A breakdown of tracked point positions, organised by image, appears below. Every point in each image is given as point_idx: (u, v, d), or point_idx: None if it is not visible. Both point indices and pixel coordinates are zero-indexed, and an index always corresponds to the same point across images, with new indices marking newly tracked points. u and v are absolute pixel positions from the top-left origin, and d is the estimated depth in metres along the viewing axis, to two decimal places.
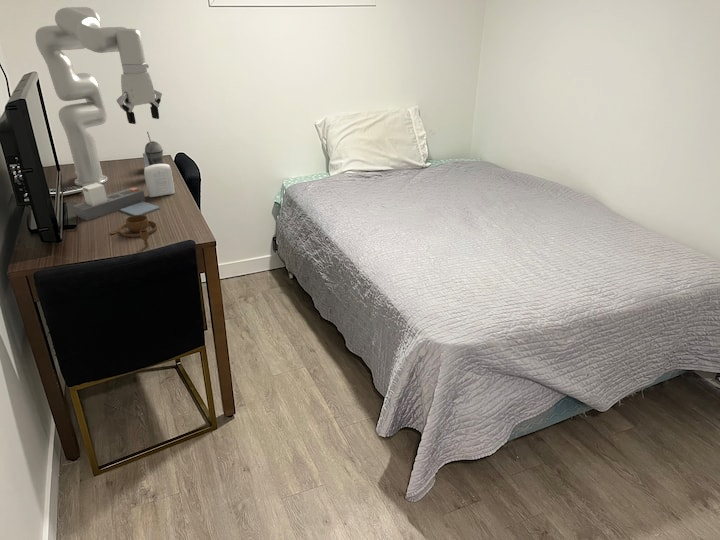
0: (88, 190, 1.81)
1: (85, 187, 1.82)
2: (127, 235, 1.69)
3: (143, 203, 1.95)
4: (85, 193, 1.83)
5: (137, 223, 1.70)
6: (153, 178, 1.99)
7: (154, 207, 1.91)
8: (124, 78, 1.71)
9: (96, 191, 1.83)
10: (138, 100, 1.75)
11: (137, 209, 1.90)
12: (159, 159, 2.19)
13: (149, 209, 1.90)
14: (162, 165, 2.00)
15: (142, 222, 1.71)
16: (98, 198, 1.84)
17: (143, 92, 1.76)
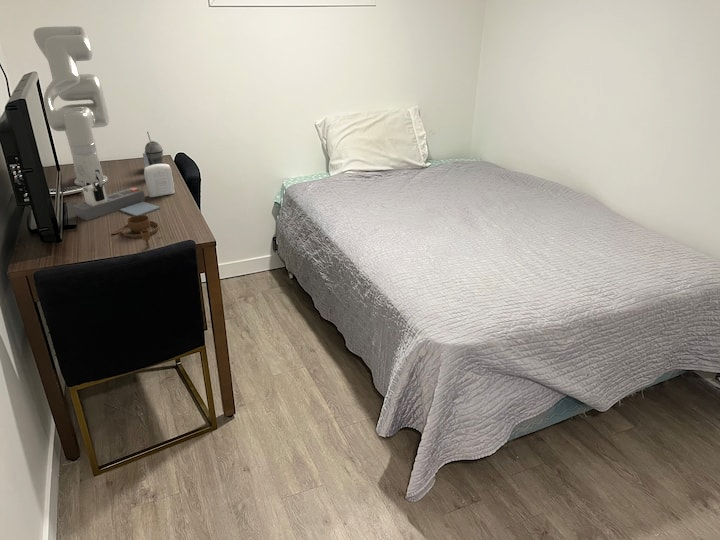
0: (88, 190, 1.81)
1: (85, 187, 1.82)
2: (128, 235, 1.69)
3: (143, 203, 1.95)
4: (85, 193, 1.83)
5: (139, 223, 1.70)
6: (153, 178, 1.99)
7: (154, 207, 1.91)
8: (93, 157, 1.76)
9: None
10: None
11: (137, 209, 1.90)
12: (159, 159, 2.19)
13: (149, 209, 1.90)
14: (162, 165, 2.00)
15: (144, 222, 1.71)
16: None
17: None
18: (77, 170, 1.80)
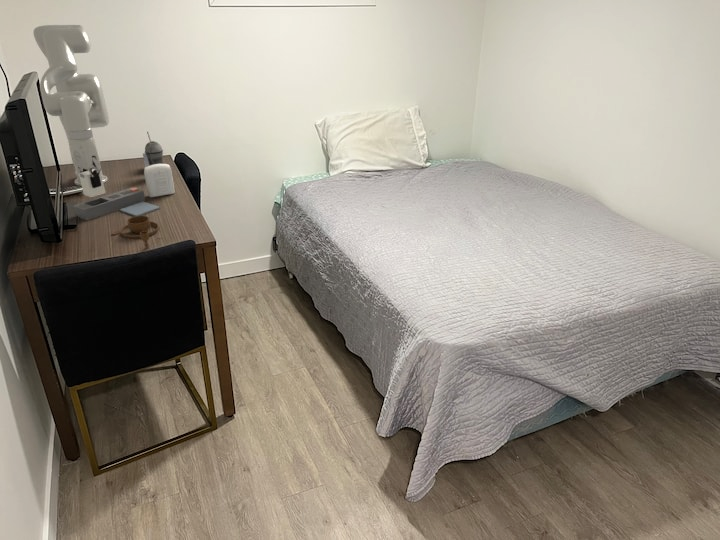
0: (84, 177, 1.79)
1: (81, 173, 1.80)
2: (128, 236, 1.69)
3: (143, 203, 1.95)
4: (81, 179, 1.81)
5: (138, 224, 1.69)
6: (153, 178, 1.99)
7: (154, 207, 1.91)
8: (90, 143, 1.74)
9: None
10: None
11: (137, 209, 1.90)
12: (159, 159, 2.19)
13: (149, 209, 1.90)
14: (162, 165, 2.00)
15: (143, 223, 1.70)
16: None
17: None
18: (73, 156, 1.78)
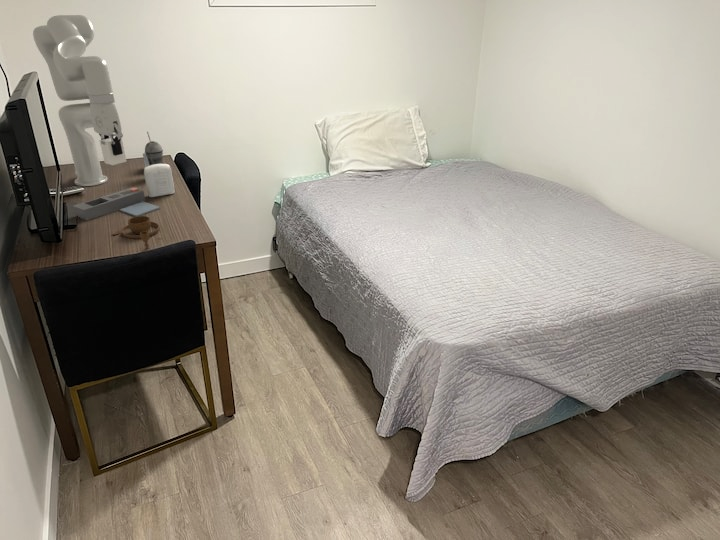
0: (105, 143, 1.75)
1: (102, 140, 1.76)
2: (129, 236, 1.69)
3: (143, 203, 1.95)
4: (102, 147, 1.77)
5: (139, 224, 1.69)
6: (153, 178, 1.99)
7: (154, 207, 1.91)
8: (111, 107, 1.70)
9: None
10: None
11: (137, 209, 1.90)
12: (159, 159, 2.19)
13: (149, 209, 1.90)
14: (162, 165, 2.00)
15: (144, 223, 1.70)
16: None
17: None
18: (95, 122, 1.74)
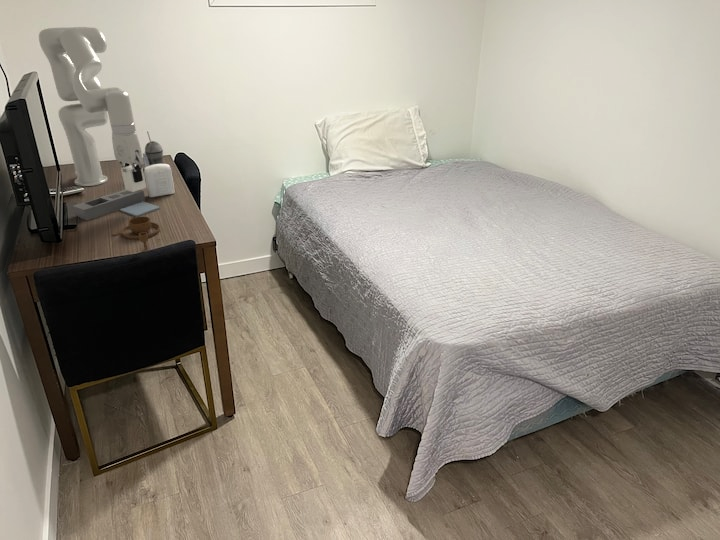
0: (127, 171, 1.81)
1: (124, 168, 1.82)
2: (129, 237, 1.68)
3: (143, 203, 1.95)
4: (124, 174, 1.82)
5: (139, 225, 1.69)
6: (153, 178, 1.99)
7: (154, 207, 1.91)
8: (133, 137, 1.76)
9: None
10: None
11: (137, 209, 1.90)
12: (159, 159, 2.19)
13: (149, 209, 1.90)
14: (162, 165, 2.00)
15: (144, 224, 1.70)
16: None
17: None
18: (116, 151, 1.79)
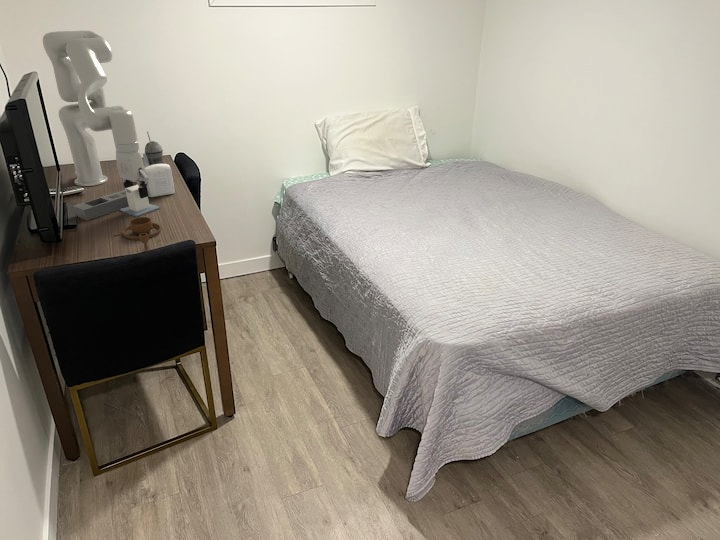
0: (131, 192, 1.84)
1: (128, 188, 1.86)
2: (129, 237, 1.68)
3: None
4: (128, 194, 1.86)
5: (140, 225, 1.69)
6: (153, 178, 1.99)
7: (154, 207, 1.91)
8: (137, 155, 1.79)
9: (138, 192, 1.86)
10: None
11: None
12: (159, 159, 2.19)
13: (149, 209, 1.90)
14: (162, 165, 2.00)
15: (145, 224, 1.69)
16: (140, 199, 1.87)
17: None
18: (120, 168, 1.82)
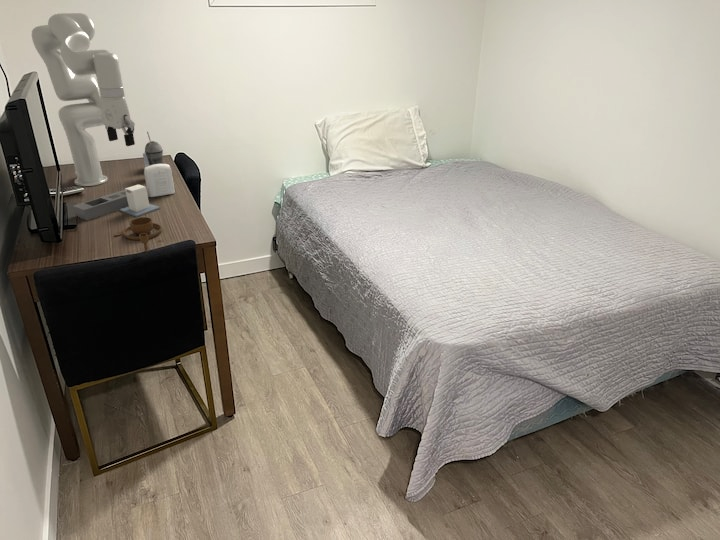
0: (131, 192, 1.84)
1: (128, 188, 1.86)
2: (130, 237, 1.68)
3: None
4: (128, 194, 1.86)
5: (140, 226, 1.68)
6: (153, 178, 1.99)
7: (154, 207, 1.91)
8: (122, 101, 1.73)
9: (138, 192, 1.86)
10: None
11: None
12: (159, 159, 2.19)
13: (149, 209, 1.90)
14: (162, 165, 2.00)
15: (146, 225, 1.69)
16: (140, 199, 1.87)
17: None
18: (104, 115, 1.77)
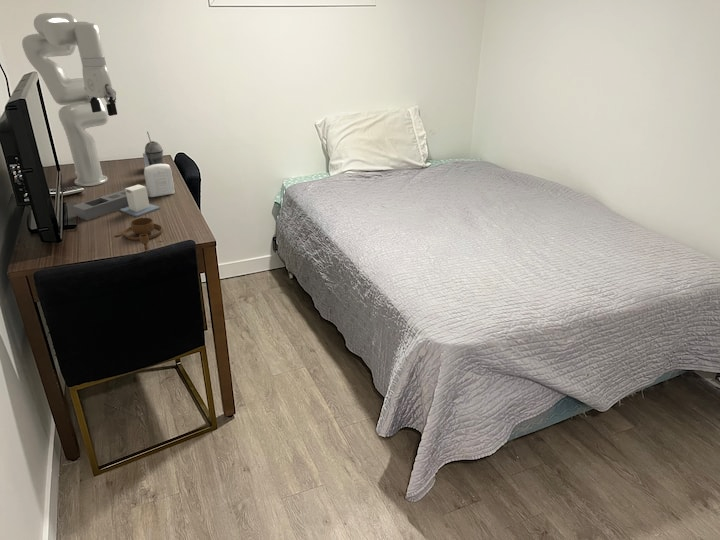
0: (131, 192, 1.84)
1: (128, 188, 1.86)
2: (130, 238, 1.67)
3: None
4: (128, 194, 1.86)
5: (141, 226, 1.68)
6: (153, 178, 1.99)
7: (154, 207, 1.91)
8: (103, 71, 1.77)
9: (138, 192, 1.86)
10: None
11: None
12: (159, 159, 2.19)
13: (149, 209, 1.90)
14: (162, 165, 2.00)
15: (146, 225, 1.69)
16: (140, 199, 1.87)
17: None
18: (87, 85, 1.81)
